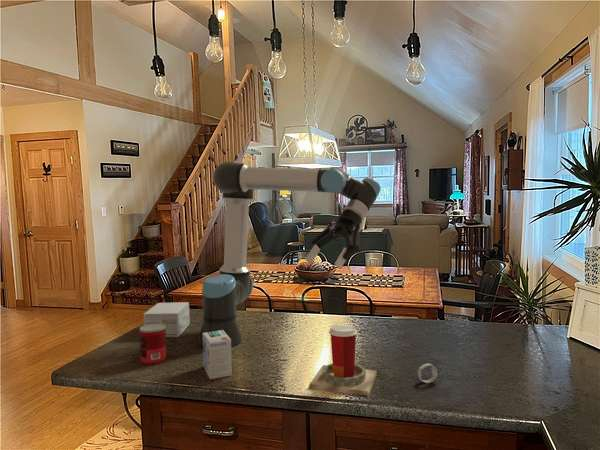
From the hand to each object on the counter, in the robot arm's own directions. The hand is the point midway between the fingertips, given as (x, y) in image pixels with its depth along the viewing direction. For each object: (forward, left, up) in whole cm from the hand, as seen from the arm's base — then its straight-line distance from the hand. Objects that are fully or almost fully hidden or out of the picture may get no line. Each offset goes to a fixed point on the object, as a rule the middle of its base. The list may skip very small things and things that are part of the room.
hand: (322, 264), depth 142 cm
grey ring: (+33, -13, -30) cm, 46 cm away
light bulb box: (-27, -22, -30) cm, 46 cm away
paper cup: (+11, -19, -29) cm, 36 cm away
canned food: (-51, -20, -30) cm, 62 cm away
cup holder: (+11, -19, -30) cm, 37 cm away
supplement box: (-66, +9, -30) cm, 73 cm away
